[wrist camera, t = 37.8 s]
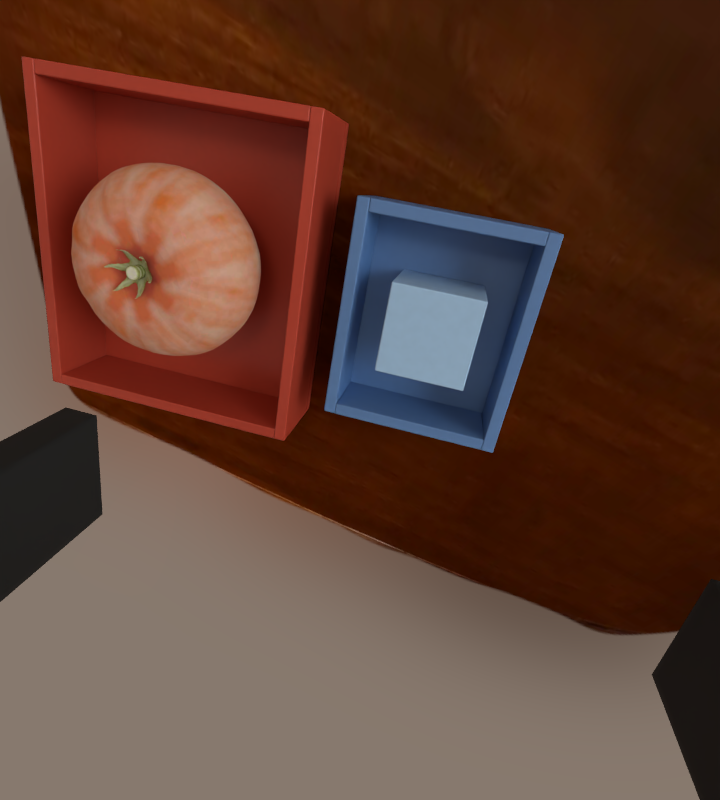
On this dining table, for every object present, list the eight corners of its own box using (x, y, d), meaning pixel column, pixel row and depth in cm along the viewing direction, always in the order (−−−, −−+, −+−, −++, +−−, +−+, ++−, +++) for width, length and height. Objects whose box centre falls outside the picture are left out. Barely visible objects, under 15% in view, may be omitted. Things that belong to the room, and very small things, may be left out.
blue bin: (342, 384, 34) (323, 411, 30) (374, 195, 29) (357, 194, 25) (489, 419, 33) (492, 453, 29) (549, 229, 28) (564, 234, 24)
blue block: (387, 346, 32) (374, 370, 27) (403, 268, 30) (391, 281, 25) (463, 363, 31) (463, 391, 27) (485, 285, 29) (488, 301, 25)
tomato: (138, 140, 30) (33, 121, 23) (300, 202, 29) (245, 203, 22) (119, 304, 35) (26, 332, 27) (258, 360, 34) (202, 404, 27)
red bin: (106, 357, 37) (52, 381, 33) (92, 78, 30) (20, 55, 25) (309, 408, 36) (284, 441, 31) (349, 123, 28) (324, 108, 23)
